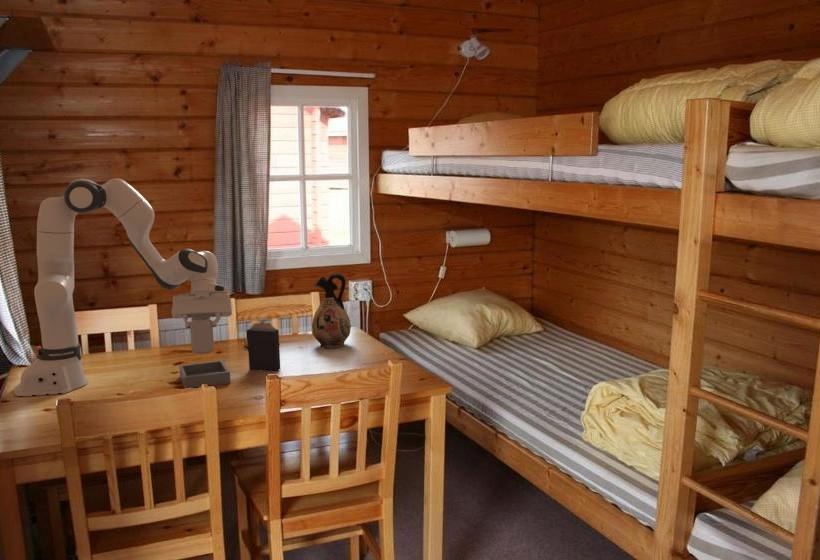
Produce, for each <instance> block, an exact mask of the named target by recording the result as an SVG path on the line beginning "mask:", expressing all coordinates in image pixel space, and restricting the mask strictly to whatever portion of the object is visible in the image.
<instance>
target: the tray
mask: <svg viewBox="0 0 820 560" xmlns="http://www.w3.org/2000/svg"><path fill="white" fill-rule="evenodd" d="M178 367H179V377H180V380H181V382H182V385H183V389H185V388H190V387H191V389H194V388H193V387H198V388H201V387H200V386H201V385H202V384H207V385H213V386H219V385H226V384H227V383H228V384H231V371H230V369H229V368H228V366H227V365H226V363H225V361H224V360H215V361H214V360H213V361H206V362H205V361H204V362H196V363H190V364H181V365H179V366H178ZM228 384H227V385H228Z"/></svg>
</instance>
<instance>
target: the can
mask: <svg viewBox="0 0 820 560" xmlns="http://www.w3.org/2000/svg"><path fill="white" fill-rule="evenodd" d="M190 319H191V321H189V322H190V328H189V331H190V345H191V352H193V353H194V354H197V355H204V354H210V353H211V352H213V350H214V349H215V342H214V341H215V340H214V327H212V321H213V320H211V317H208V316H199V317H194V318H190Z"/></svg>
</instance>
